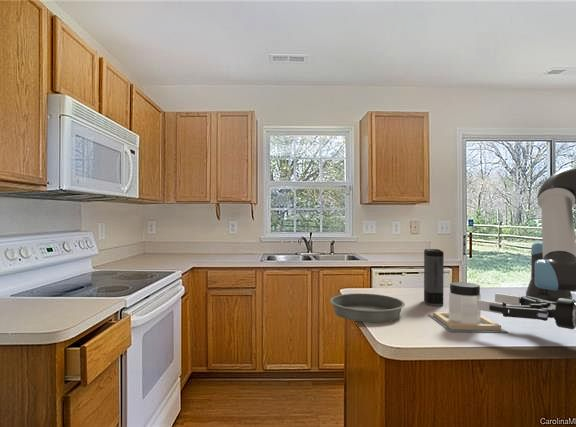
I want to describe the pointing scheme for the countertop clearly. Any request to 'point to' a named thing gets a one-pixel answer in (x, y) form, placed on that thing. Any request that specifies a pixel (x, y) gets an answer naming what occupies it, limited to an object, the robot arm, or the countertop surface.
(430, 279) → the electronic device
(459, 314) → the jar
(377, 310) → the cake pan
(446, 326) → the beige flat piece
